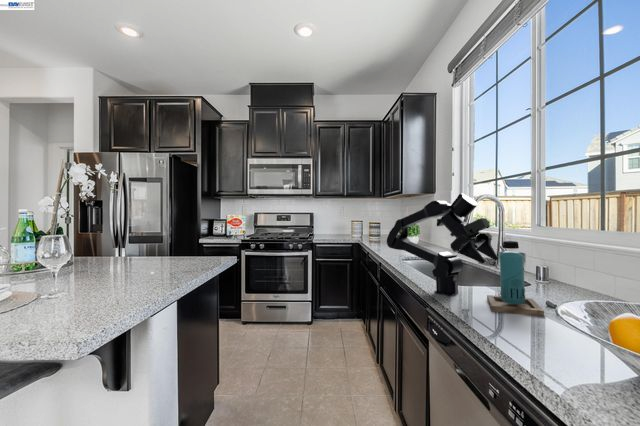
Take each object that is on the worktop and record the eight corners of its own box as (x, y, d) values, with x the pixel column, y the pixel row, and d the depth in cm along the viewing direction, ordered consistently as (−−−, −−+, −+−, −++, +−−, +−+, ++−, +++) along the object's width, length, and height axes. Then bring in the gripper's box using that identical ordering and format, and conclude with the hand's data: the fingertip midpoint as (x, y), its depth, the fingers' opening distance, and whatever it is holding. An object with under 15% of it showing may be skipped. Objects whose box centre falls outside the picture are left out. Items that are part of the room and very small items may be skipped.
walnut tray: (492, 311, 85) (491, 305, 85) (487, 299, 96) (487, 294, 96) (544, 316, 80) (544, 310, 80) (532, 303, 91) (532, 298, 91)
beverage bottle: (509, 309, 85) (506, 242, 85) (495, 302, 92) (493, 240, 92) (531, 309, 85) (528, 241, 85) (516, 302, 91) (514, 239, 92)
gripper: (458, 210, 92) (496, 247, 83) (485, 210, 103) (521, 242, 94) (436, 233, 98) (470, 270, 89) (464, 231, 109) (496, 263, 100)
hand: (490, 261), depth 93 cm, fingers open, 9 cm apart
